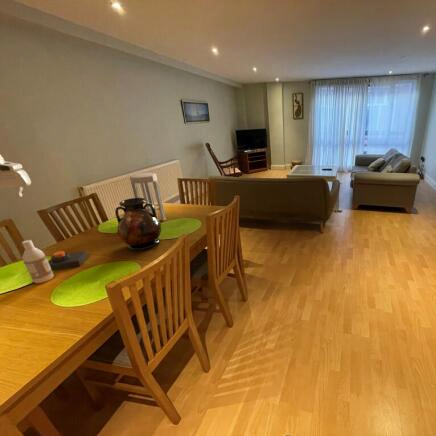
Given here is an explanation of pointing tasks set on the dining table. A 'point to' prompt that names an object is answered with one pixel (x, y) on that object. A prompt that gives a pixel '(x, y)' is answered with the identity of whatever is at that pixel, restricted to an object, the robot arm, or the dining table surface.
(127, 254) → the dining table surface
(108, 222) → the dining table surface
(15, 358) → the dining table surface
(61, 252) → the button
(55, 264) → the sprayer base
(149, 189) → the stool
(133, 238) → the amphora vase
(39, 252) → the bath foam
